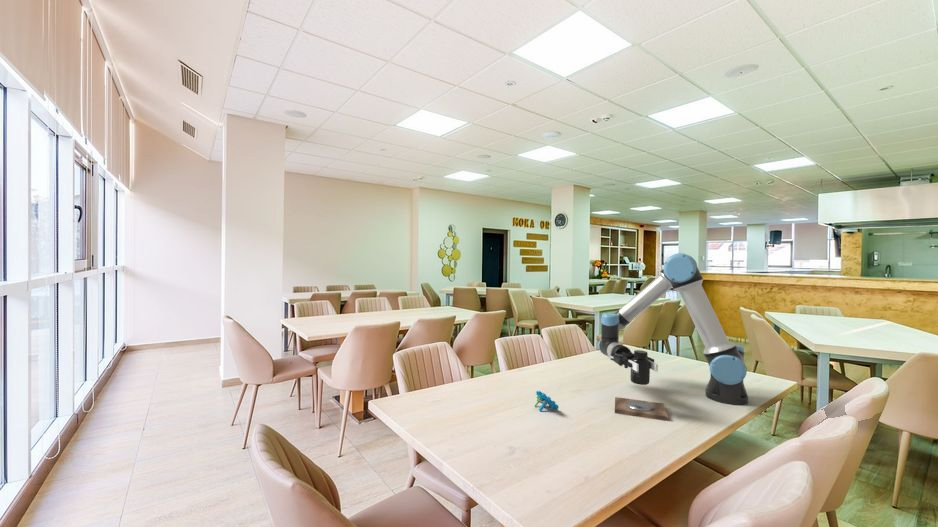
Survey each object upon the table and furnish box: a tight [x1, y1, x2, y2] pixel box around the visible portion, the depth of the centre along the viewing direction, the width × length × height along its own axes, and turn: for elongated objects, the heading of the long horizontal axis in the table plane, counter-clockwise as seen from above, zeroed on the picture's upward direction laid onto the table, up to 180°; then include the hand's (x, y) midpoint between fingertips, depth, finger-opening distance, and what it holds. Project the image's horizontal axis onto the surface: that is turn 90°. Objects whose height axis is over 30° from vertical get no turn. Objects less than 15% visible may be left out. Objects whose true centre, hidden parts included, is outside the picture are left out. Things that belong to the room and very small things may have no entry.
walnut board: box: [614, 396, 669, 422], centre depth 149 cm, size 18×14×2 cm
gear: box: [534, 390, 560, 412], centre depth 148 cm, size 11×6×10 cm
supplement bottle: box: [629, 349, 651, 386], centre depth 149 cm, size 7×7×12 cm
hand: (647, 367), depth 144 cm, fingers closed on supplement bottle, 7 cm apart
